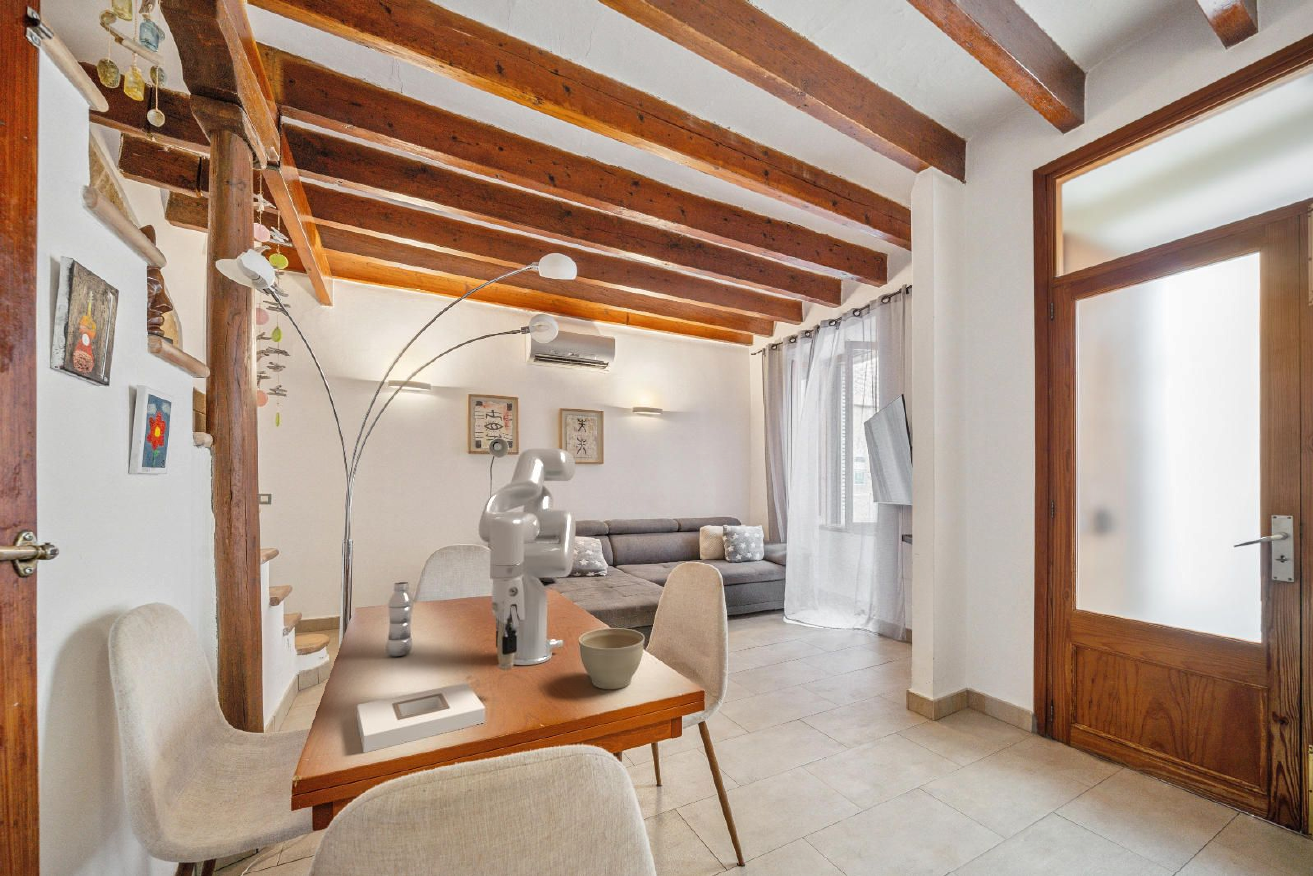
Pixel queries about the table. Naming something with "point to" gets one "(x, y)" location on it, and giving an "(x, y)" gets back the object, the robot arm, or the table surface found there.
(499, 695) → the table surface
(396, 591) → the plastic bottle
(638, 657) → the planter bowl
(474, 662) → the table surface
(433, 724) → the socket board
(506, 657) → the handle
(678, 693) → the table surface
